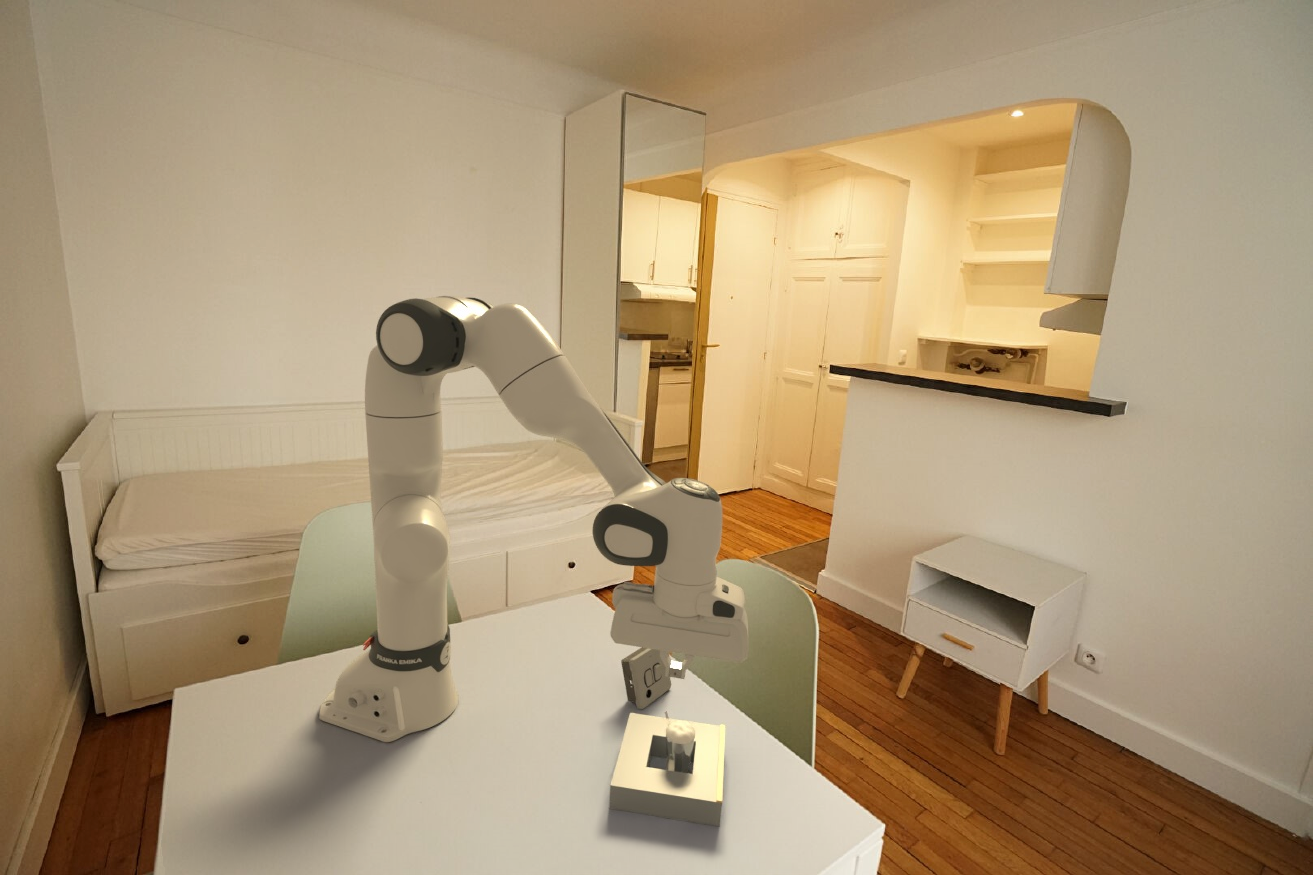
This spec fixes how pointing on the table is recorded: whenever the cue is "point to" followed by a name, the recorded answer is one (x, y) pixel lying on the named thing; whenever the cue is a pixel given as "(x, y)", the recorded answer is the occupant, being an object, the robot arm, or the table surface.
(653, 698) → the electrical switch
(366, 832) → the table surface
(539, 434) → the robot arm
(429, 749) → the table surface
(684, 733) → the milkshake
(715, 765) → the socket block
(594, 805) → the table surface
